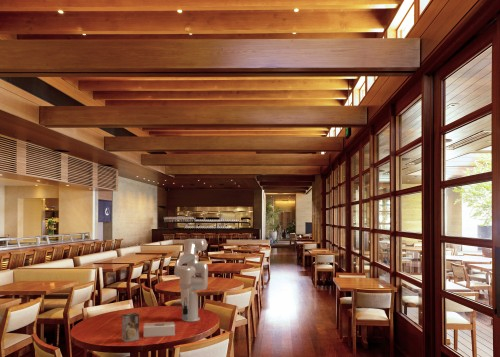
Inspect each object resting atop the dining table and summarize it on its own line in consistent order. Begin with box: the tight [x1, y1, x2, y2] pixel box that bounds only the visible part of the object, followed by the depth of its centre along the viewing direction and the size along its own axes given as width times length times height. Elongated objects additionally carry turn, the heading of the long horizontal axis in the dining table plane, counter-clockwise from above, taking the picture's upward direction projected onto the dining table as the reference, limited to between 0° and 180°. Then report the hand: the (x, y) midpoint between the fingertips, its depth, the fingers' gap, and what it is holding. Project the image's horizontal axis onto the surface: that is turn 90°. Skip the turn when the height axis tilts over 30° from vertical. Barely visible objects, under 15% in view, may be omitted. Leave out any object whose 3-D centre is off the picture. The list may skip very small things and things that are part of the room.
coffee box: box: [121, 312, 140, 343], centre depth 303 cm, size 9×6×16 cm
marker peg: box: [181, 303, 188, 321], centre depth 323 cm, size 4×4×12 cm
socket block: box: [143, 321, 176, 338], centre depth 317 cm, size 12×20×6 cm, turn 101°
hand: (185, 313), depth 323 cm, fingers closed on marker peg, 4 cm apart
